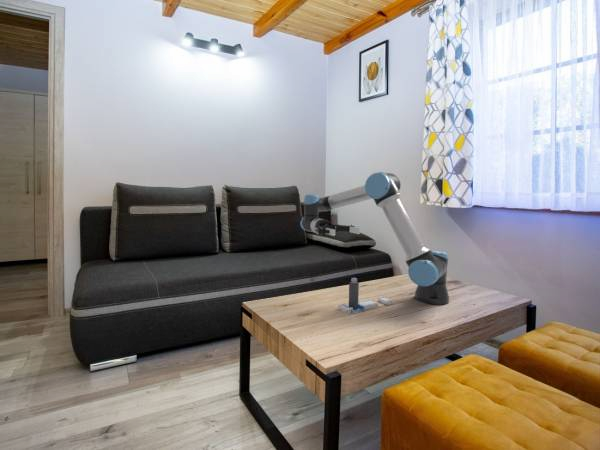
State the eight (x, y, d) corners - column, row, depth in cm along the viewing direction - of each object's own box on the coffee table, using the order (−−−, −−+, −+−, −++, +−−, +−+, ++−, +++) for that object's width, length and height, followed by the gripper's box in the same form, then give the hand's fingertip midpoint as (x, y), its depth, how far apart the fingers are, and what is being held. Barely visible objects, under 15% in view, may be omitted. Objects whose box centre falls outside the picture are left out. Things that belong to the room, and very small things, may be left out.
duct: (382, 299, 161) (382, 295, 161) (393, 304, 155) (393, 300, 155) (337, 308, 149) (338, 303, 149) (348, 314, 143) (348, 309, 142)
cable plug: (354, 305, 151) (354, 276, 150) (360, 308, 148) (360, 279, 146) (346, 307, 149) (347, 278, 148) (352, 310, 146) (353, 280, 144)
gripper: (341, 232, 180) (368, 238, 162) (299, 235, 168) (323, 242, 150) (341, 218, 180) (368, 222, 161) (299, 220, 167) (323, 224, 149)
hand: (347, 231), depth 156 cm, fingers open, 13 cm apart
